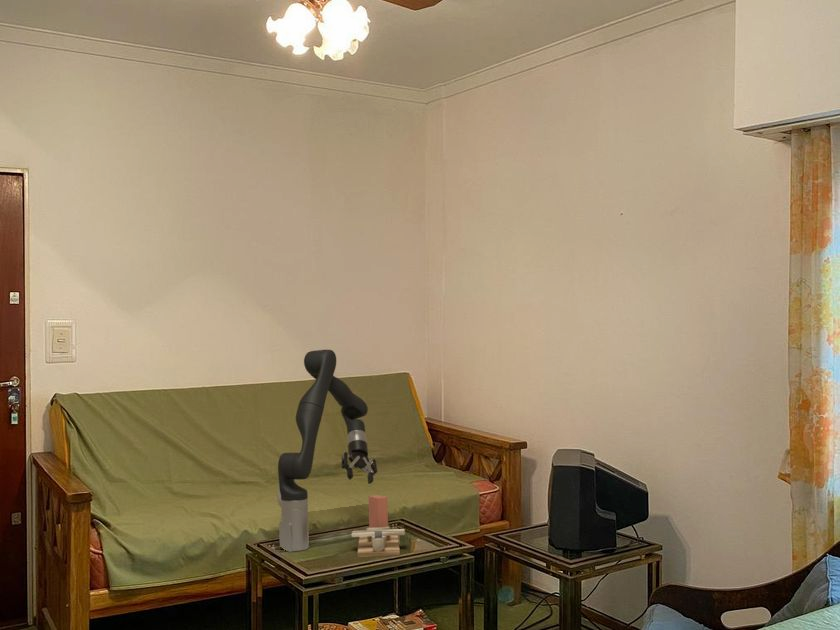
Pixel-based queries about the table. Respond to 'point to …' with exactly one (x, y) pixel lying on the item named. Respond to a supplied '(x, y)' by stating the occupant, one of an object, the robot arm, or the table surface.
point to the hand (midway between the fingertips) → (360, 480)
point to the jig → (378, 541)
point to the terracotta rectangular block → (378, 511)
